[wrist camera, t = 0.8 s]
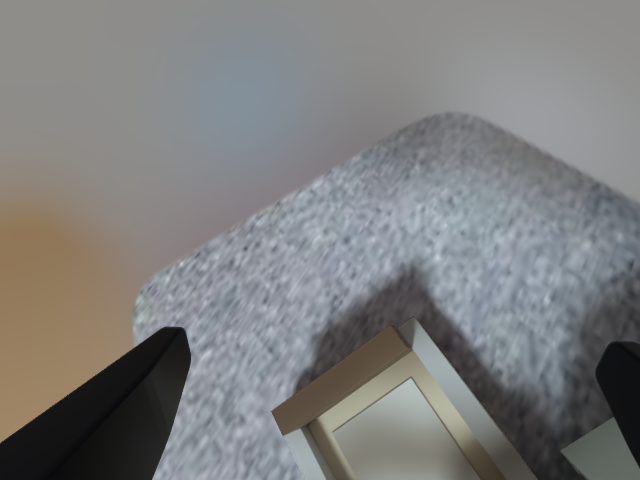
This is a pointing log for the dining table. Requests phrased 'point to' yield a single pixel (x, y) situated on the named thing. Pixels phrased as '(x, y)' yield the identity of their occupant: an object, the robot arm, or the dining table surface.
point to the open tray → (396, 418)
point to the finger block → (602, 455)
